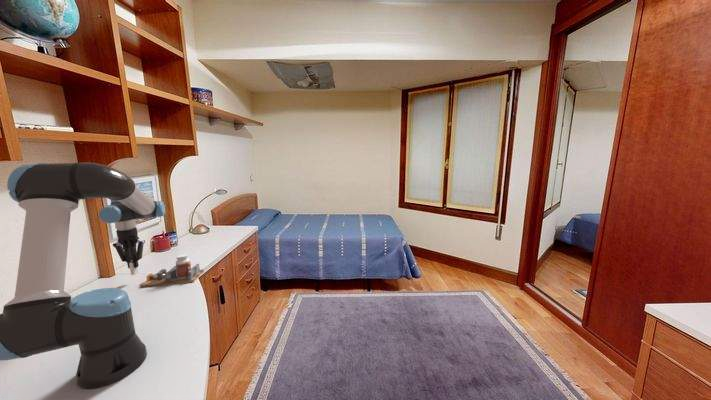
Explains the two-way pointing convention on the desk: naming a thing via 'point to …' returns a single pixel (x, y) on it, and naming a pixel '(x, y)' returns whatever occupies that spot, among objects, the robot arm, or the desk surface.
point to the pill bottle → (183, 265)
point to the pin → (153, 276)
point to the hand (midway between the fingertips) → (134, 273)
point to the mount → (173, 277)
